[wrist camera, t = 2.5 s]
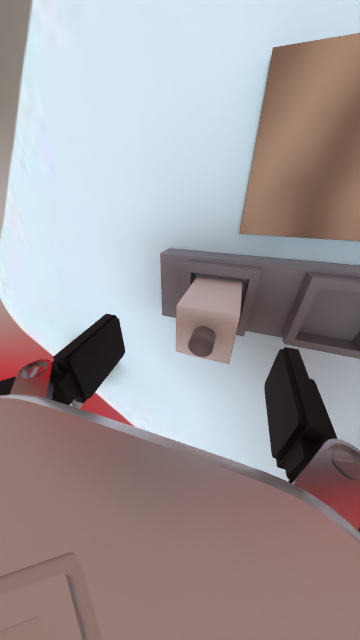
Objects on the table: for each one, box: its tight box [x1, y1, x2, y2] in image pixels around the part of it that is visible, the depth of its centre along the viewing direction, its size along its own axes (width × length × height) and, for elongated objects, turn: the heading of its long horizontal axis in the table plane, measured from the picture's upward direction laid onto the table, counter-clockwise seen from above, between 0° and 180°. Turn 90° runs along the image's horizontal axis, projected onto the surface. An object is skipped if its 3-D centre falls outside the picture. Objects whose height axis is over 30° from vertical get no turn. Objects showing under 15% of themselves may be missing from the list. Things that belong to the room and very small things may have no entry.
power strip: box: [160, 249, 360, 359], centre depth 17 cm, size 22×7×4 cm, turn 89°
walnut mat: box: [239, 33, 360, 241], centre depth 12 cm, size 12×10×1 cm
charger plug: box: [176, 273, 242, 364], centre depth 15 cm, size 4×4×8 cm
